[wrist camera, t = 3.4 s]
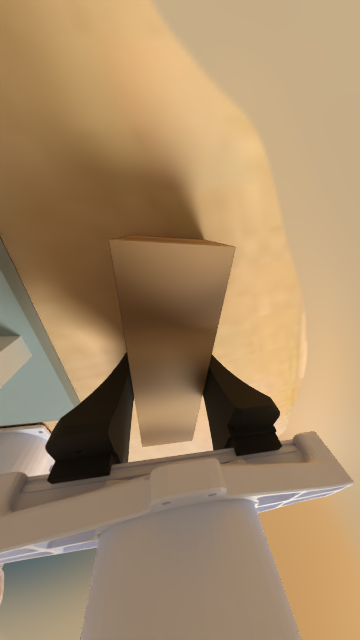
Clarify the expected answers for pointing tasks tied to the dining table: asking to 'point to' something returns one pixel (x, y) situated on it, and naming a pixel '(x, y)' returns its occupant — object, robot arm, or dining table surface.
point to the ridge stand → (27, 358)
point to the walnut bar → (169, 326)
